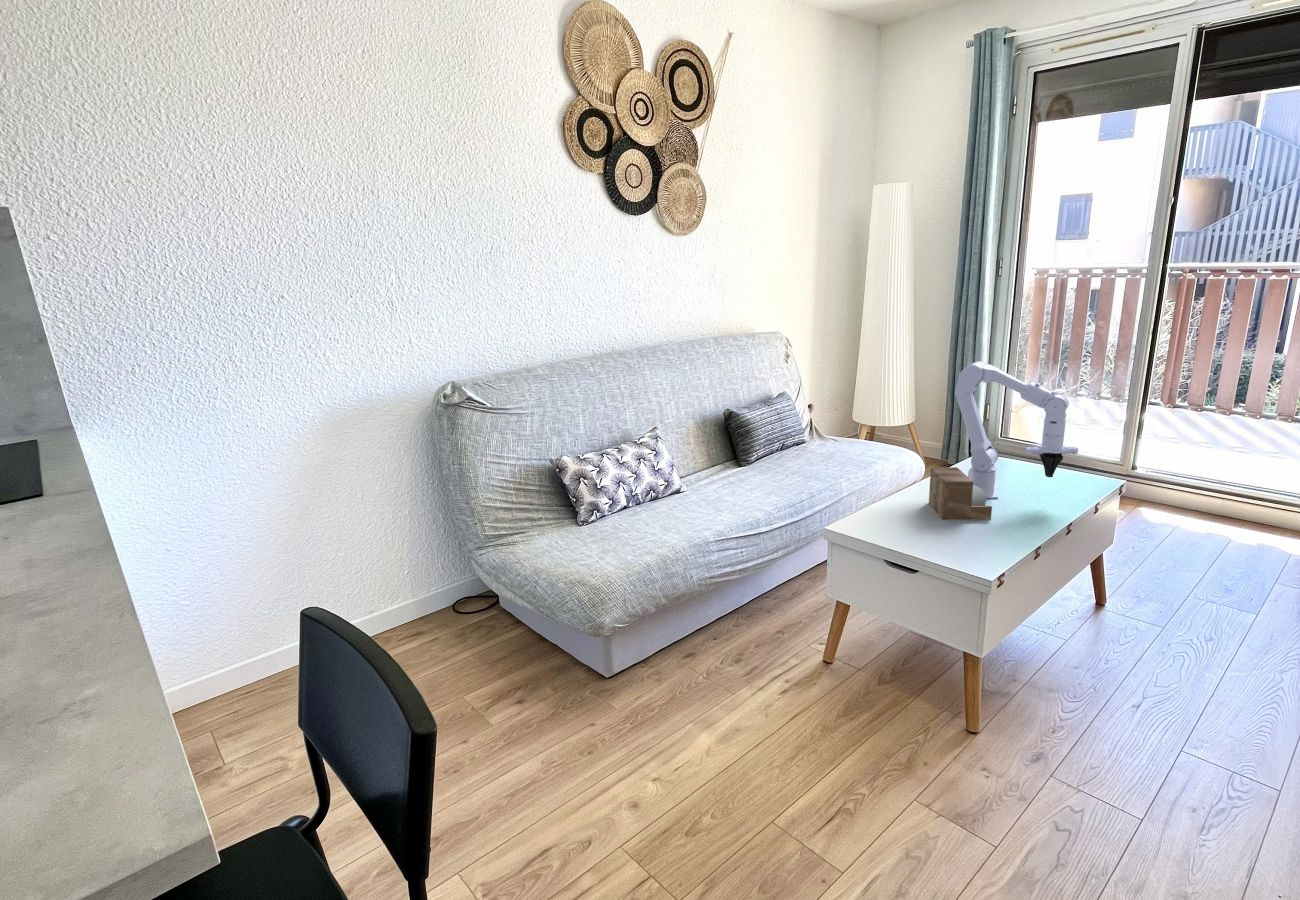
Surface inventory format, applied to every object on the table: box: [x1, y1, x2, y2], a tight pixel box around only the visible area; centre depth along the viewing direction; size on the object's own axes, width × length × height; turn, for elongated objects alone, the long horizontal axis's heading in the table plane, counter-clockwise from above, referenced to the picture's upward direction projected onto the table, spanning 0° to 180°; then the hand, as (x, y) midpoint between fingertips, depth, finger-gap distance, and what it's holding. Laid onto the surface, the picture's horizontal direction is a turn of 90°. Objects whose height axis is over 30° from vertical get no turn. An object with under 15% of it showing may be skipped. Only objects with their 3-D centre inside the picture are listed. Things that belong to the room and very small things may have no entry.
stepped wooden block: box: [928, 466, 993, 521], centre depth 217 cm, size 15×14×12 cm
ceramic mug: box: [971, 486, 987, 506], centre depth 216 cm, size 11×8×8 cm
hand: (1048, 476), depth 218 cm, fingers closed
